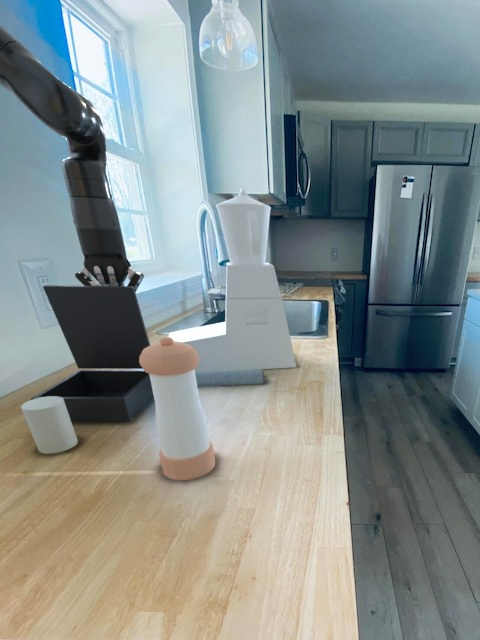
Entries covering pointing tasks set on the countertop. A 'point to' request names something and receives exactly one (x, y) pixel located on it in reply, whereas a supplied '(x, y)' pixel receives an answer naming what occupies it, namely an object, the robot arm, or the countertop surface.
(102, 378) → the black hinged box
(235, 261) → the blender
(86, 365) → the lid
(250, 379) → the grey folded cloth
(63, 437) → the container
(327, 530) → the countertop surface
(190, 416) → the salt shaker
